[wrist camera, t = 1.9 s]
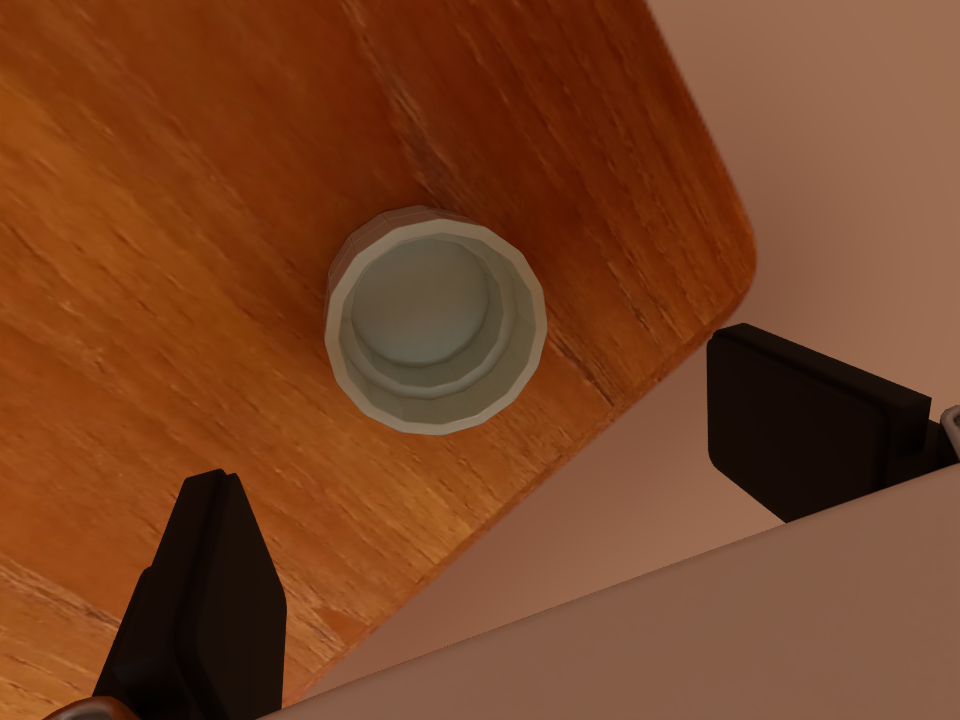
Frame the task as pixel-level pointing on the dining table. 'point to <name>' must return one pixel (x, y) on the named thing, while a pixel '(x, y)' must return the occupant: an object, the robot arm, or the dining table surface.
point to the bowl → (431, 320)
